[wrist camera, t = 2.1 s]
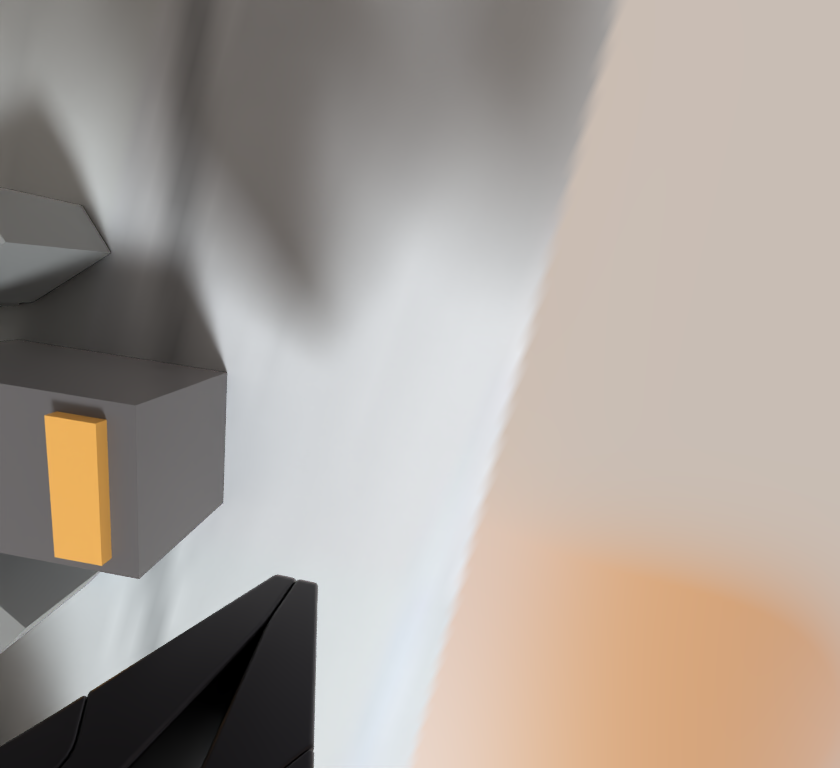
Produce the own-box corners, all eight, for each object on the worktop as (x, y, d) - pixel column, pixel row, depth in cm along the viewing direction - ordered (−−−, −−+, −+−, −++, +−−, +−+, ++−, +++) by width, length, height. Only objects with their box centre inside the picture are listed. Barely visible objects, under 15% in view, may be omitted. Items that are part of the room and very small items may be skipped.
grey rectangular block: (225, 500, 14) (130, 587, 10) (32, 466, 15) (-137, 537, 11) (230, 371, 13) (125, 409, 9) (22, 338, 14) (-170, 361, 10)
